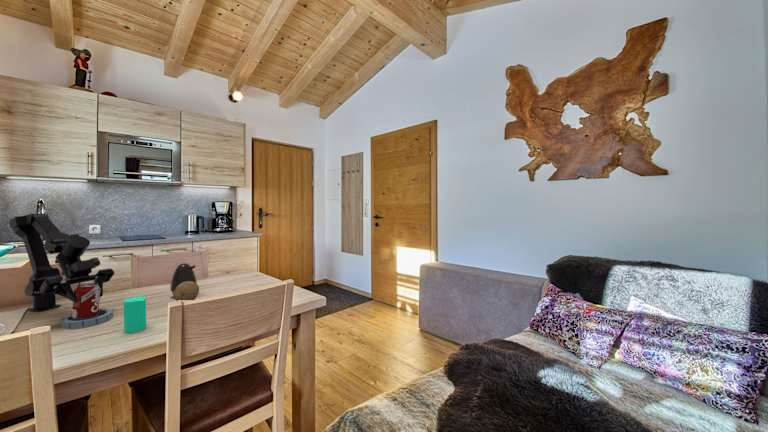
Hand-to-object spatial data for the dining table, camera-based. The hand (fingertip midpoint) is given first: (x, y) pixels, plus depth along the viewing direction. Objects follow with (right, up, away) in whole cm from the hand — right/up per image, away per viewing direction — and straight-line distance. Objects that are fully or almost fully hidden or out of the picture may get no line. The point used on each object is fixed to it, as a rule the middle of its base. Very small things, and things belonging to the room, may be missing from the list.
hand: (89, 299), depth 106 cm
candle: (+20, -9, -4) cm, 22 cm away
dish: (-1, -8, +1) cm, 8 cm away
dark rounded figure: (+13, -7, +31) cm, 34 cm away
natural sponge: (+22, -8, +20) cm, 30 cm away
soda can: (-2, -7, 0) cm, 7 cm away
